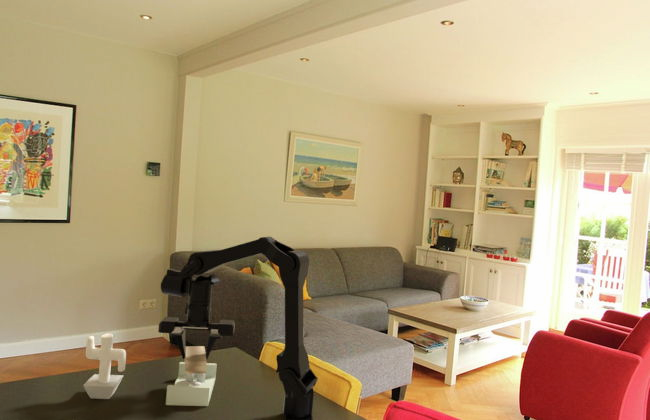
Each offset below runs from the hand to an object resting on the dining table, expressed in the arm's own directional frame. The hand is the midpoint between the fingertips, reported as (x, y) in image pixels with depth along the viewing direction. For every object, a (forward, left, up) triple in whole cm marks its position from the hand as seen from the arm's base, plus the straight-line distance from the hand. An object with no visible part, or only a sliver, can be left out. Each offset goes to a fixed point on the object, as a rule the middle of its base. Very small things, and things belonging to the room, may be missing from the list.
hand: (195, 358), depth 124 cm
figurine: (+21, +4, -9) cm, 23 cm away
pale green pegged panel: (0, 0, -9) cm, 9 cm away
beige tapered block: (0, 0, -2) cm, 2 cm away
